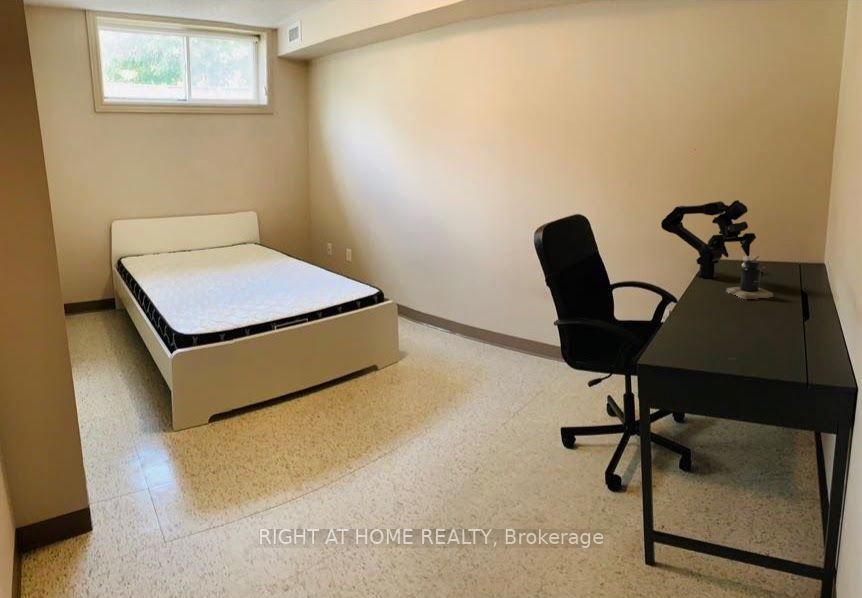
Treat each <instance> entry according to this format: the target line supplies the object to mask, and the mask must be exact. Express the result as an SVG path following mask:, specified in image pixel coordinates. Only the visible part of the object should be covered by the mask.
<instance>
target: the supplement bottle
mask: <svg viewBox="0 0 862 598" xmlns="http://www.w3.org/2000/svg"><path fill="white" fill-rule="evenodd" d="M745 266H746V267H744V268H743V267H742V268H741V277H740V282H739V287H740V289H741V290H743V291H747V292H756V291H758V289H759V288H760V281H761V274H762V273H761V270H762V269H761V268H759V266H760V261H758V260H755V261H754V259H752V260H751V259H750V260H748V261H746V264H745ZM760 269H761V270H760Z"/></svg>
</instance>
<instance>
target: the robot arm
mask: <svg viewBox="0 0 862 598" xmlns="http://www.w3.org/2000/svg"><path fill="white" fill-rule="evenodd" d="M748 211H749V210H748V207H747V205H745V204H744V203H742V201H741V202H740V200H738V199H736V200H733V202H732V203H731V204H730V205H728V204H725V203H724V201H721V200H720V201H713V202H709V203H704V204H698V205H679V206H676V207H674V208H673V210H672V211H671V212H670V213H668V215H666V216H665V218H663V219H662V220H661V223H660V226H661V229H662V230H663V231H666V232H668V233H671V234H674V235H676V236H677V237H679V238H680V239H681V240H683V241H684V242H686V243H687V245H689V246H690V247H692V248H693V249H695V250H696V251H697V252H698V254H699V256H698V257H697V258H696V260H695V261H696V264H697V265H699V272H698V274H695V275H696V277H698V278H701V279H704V280H705V279H706V280H707V279H714V278H715V279H716V278H717V275H715V270H716V269H715V268H716V267H715V264H719V262H720V260H721V259H722V258H723V256H724V257H725V258H729V252H728V250H727V247H726V244H725V243H738V242H739V243H740V248H742V250H743V252H744V254H745V256H751V255H750V252H751V250H750V249H751V244H752V243H753V242H754V241H755V240H756V239H757V236H756V234H755V232H745V233H743V235H742V236H740V235H741V234H742V232H743V231H746V230H747V229H748V228H749V224H748V222H747V221H742V222H734V223H733V221H737V220H738V219H740V218H741V217H742V216H744V215H745V214H747V213H748ZM693 214H694V215H695V214H697V215H698V214H703V215H706V216H715V217H713V219H712V222H711V223H712V224H716V225H718V229H719V231H718V233H719V234H713V235H712V236H711V237H710V238H709V240H708V241H707V243H706V242H704V241H703V240H702V239H701V238H699V237H698V236H696V235H695V234H694V233H693V232H691V231H689V229H687V228H685V226H684V225H683V222H682V221H683V220H684V217H685V215H693Z"/></svg>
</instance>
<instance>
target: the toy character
mask: <svg viewBox="0 0 862 598" xmlns="http://www.w3.org/2000/svg"><path fill="white" fill-rule="evenodd" d="M749 256H750V255H749ZM749 256H747V255H745V256H744V255H742V258H743V259H742V260H743V263H742V264H741V267H742V269H743V268H744V267H746V266H745V264H746V261H748V260H754V261H757V259H759V257H760V256H757V257H755V256H753V257H754V259H752V258H750V257H749ZM758 268H759V269H760V270H761V272H762V273H763V270H764V271H766V267H765V266H763V265H762V266H760V265H759V267H758Z"/></svg>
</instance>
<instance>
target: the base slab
mask: <svg viewBox="0 0 862 598" xmlns="http://www.w3.org/2000/svg"><path fill="white" fill-rule="evenodd" d="M727 292H728V293H727ZM726 293H727V294H729V293H731V294H733V295H732V296H734V295H736V296H738V297H737V298H739V297H740V298H739V299H741V298H743V299H745V300H744V301H747V300H746V299H755V300H759V299H758V298H767V299H770V298H769V297H773V296H774V293H773V292H771V291H768V290H766V289H764V288H760V287H759V289H758V291H756V292H747V291H743V290H741V289H740V286H734V287H733V286H732V287H727V288H726ZM731 294H730V295H731ZM736 296H735V297H736ZM743 299H742V300H743Z"/></svg>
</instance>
